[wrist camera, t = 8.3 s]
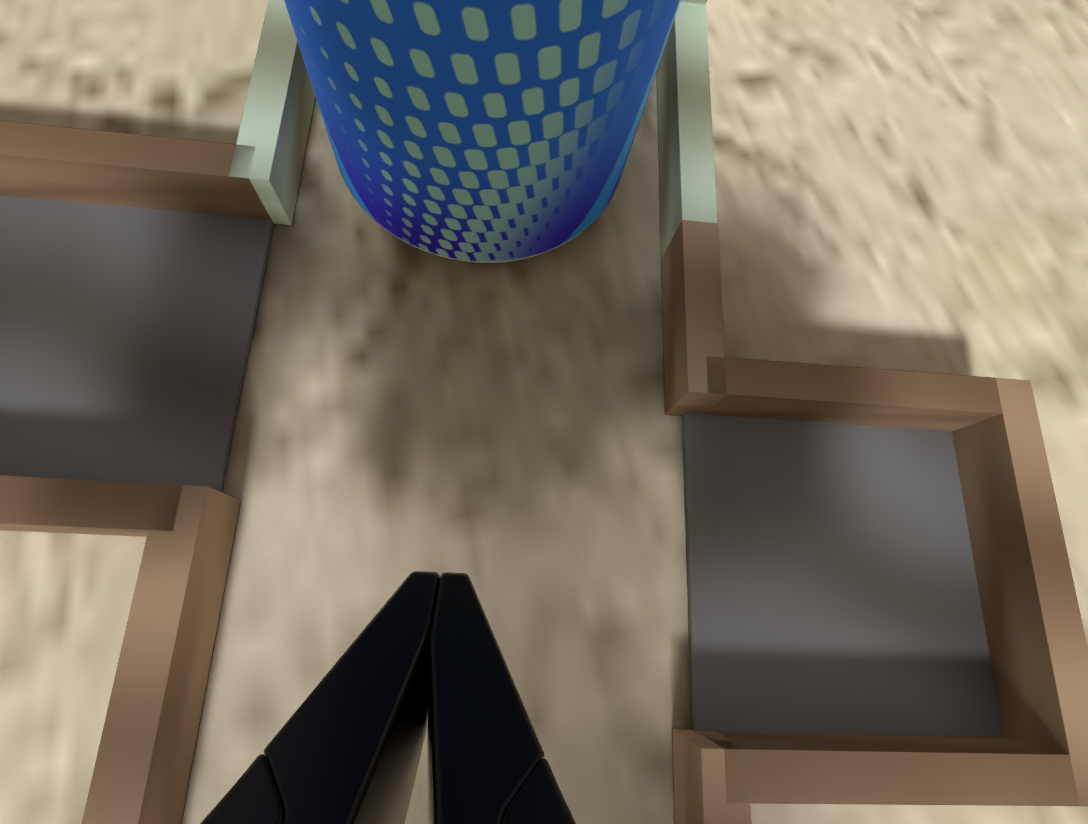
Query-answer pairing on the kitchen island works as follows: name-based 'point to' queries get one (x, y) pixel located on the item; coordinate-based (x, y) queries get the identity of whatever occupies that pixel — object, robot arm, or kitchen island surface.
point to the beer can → (482, 112)
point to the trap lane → (709, 476)
